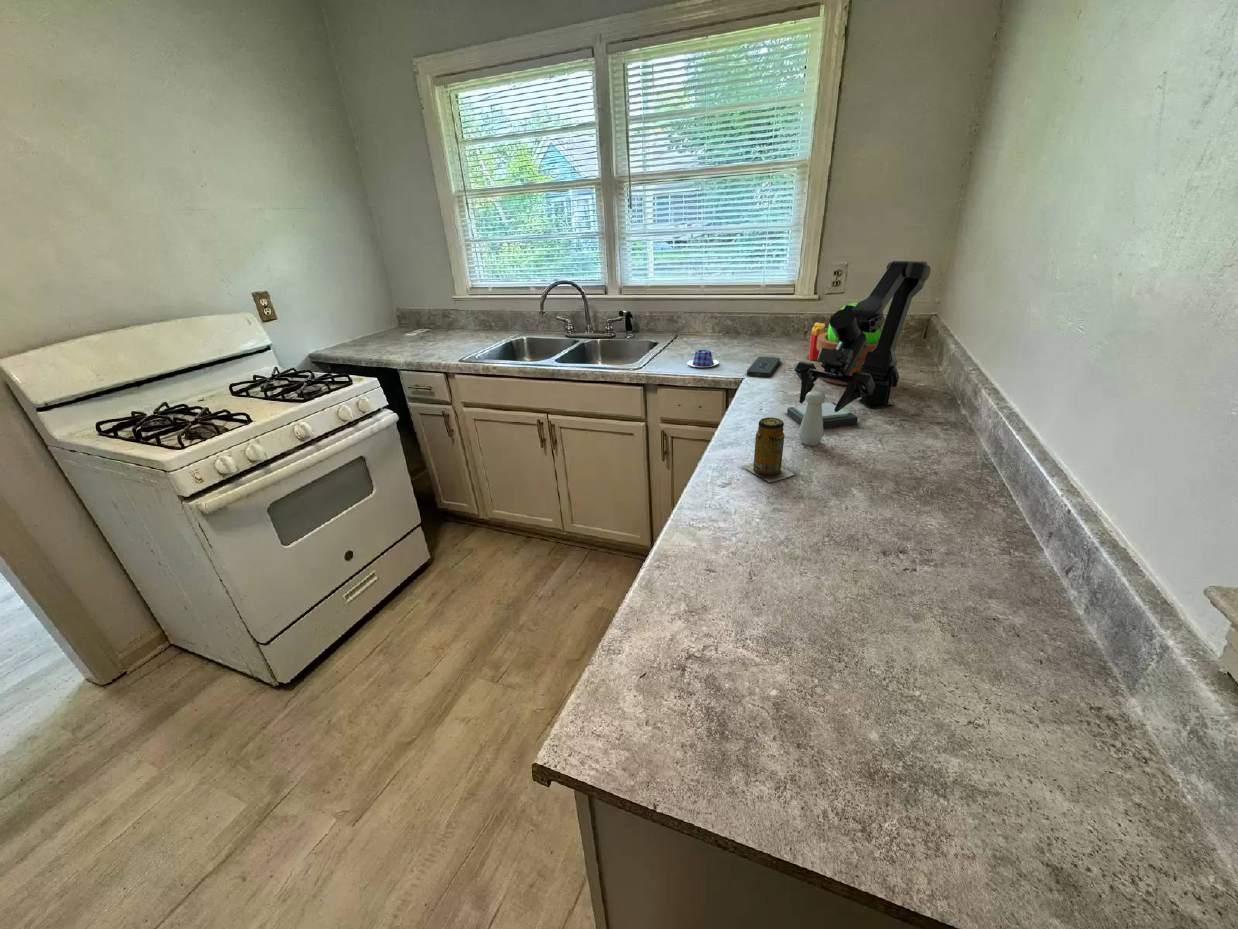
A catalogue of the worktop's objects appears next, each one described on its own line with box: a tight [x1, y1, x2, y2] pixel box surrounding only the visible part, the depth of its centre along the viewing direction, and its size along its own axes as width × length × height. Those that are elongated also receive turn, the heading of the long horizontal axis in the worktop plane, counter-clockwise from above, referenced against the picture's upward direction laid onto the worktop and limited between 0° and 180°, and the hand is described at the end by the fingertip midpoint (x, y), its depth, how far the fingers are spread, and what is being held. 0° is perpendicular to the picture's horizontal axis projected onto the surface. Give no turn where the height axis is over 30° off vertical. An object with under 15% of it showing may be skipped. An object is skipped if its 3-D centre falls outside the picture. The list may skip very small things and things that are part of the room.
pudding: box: [687, 349, 720, 368], centre depth 189 cm, size 12×12×5 cm
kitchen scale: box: [786, 401, 859, 429], centre depth 136 cm, size 14×12×3 cm
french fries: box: [808, 322, 826, 361], centre depth 186 cm, size 9×4×13 cm, turn 163°
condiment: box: [744, 416, 796, 483], centre depth 109 cm, size 7×8×12 cm
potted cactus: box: [817, 301, 883, 386], centre depth 160 cm, size 22×22×25 cm
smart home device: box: [746, 356, 781, 378], centre depth 181 cm, size 8×2×20 cm
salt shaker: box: [798, 390, 826, 446], centre depth 121 cm, size 6×6×13 cm
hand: (817, 407), depth 121 cm, fingers open, 9 cm apart
